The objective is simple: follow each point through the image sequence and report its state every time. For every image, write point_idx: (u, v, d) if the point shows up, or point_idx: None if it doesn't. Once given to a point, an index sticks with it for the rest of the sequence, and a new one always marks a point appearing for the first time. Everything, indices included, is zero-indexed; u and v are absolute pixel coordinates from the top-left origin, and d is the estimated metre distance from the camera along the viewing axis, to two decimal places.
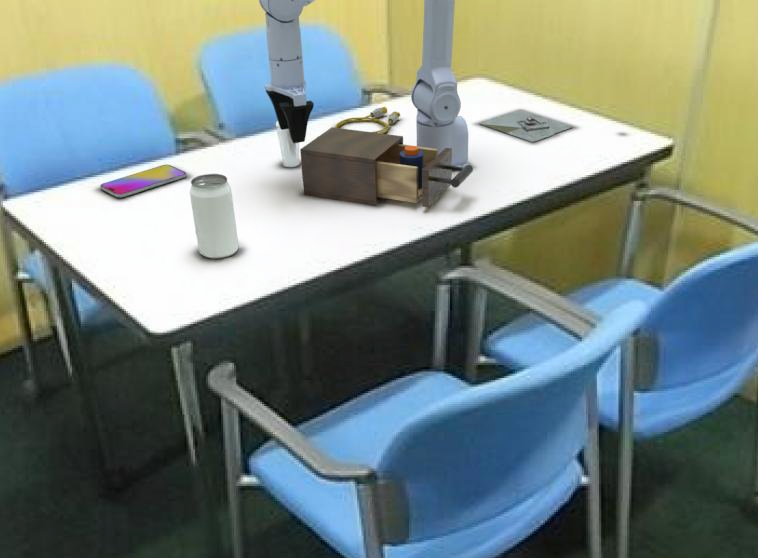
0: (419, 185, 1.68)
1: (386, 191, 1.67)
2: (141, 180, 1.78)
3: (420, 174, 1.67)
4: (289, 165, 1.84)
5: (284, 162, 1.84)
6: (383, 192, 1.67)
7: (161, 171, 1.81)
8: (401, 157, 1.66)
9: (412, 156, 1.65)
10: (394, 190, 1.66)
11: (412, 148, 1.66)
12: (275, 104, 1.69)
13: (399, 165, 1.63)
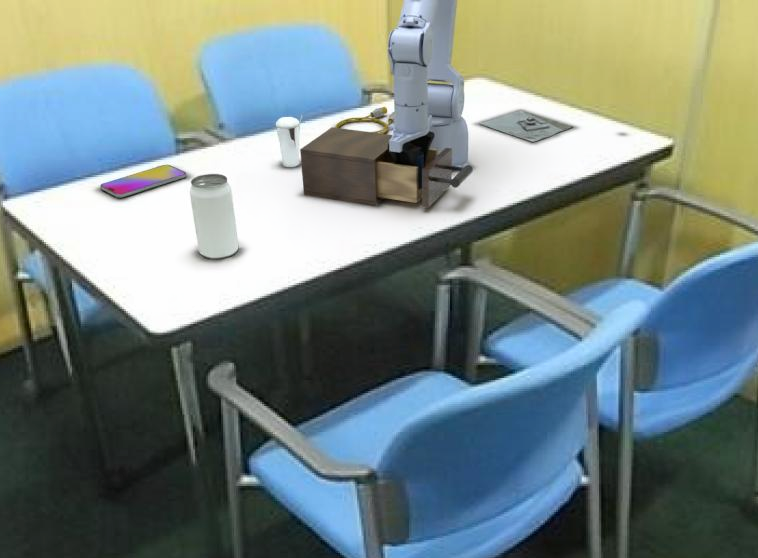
0: (419, 185, 1.68)
1: (386, 191, 1.67)
2: (141, 180, 1.78)
3: (420, 174, 1.67)
4: (289, 165, 1.84)
5: (284, 162, 1.84)
6: (383, 192, 1.67)
7: (161, 171, 1.81)
8: None
9: None
10: (394, 190, 1.66)
11: None
12: None
13: (399, 165, 1.63)
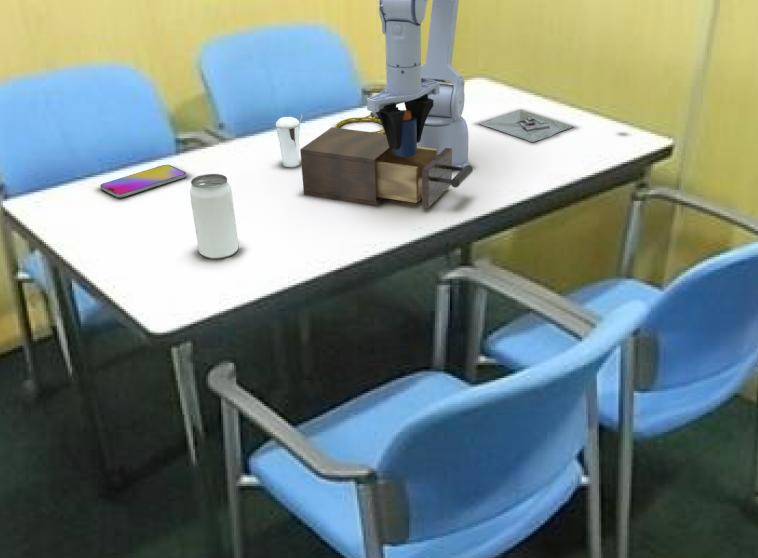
0: (407, 152, 1.62)
1: (386, 191, 1.67)
2: (141, 180, 1.78)
3: (409, 141, 1.61)
4: (289, 165, 1.84)
5: (284, 162, 1.84)
6: (383, 192, 1.67)
7: (161, 171, 1.81)
8: None
9: None
10: (394, 190, 1.66)
11: (404, 113, 1.60)
12: None
13: (399, 165, 1.63)
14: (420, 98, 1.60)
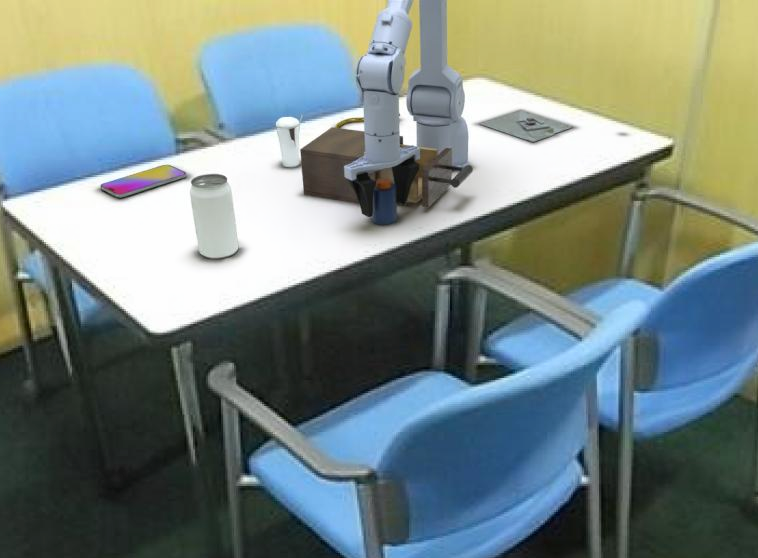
0: (386, 220, 1.61)
1: None
2: (141, 180, 1.78)
3: (388, 209, 1.60)
4: (289, 165, 1.84)
5: (284, 162, 1.84)
6: None
7: (161, 171, 1.81)
8: None
9: (380, 189, 1.58)
10: None
11: (383, 181, 1.59)
12: (394, 175, 1.62)
13: None
14: (406, 162, 1.59)
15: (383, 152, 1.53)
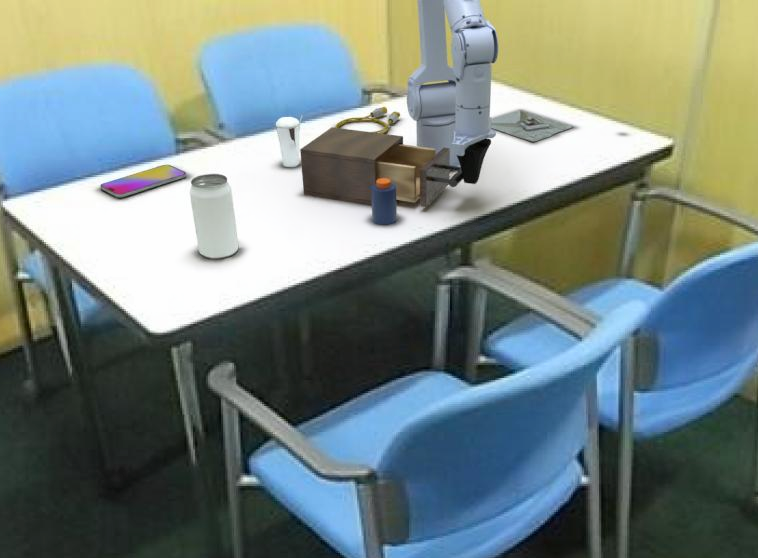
0: (386, 220, 1.61)
1: None
2: (141, 180, 1.78)
3: (388, 209, 1.60)
4: (289, 165, 1.84)
5: (284, 162, 1.84)
6: None
7: (161, 171, 1.81)
8: (371, 188, 1.60)
9: (380, 189, 1.58)
10: None
11: (383, 181, 1.59)
12: (480, 157, 1.62)
13: (397, 165, 1.64)
14: None
15: None
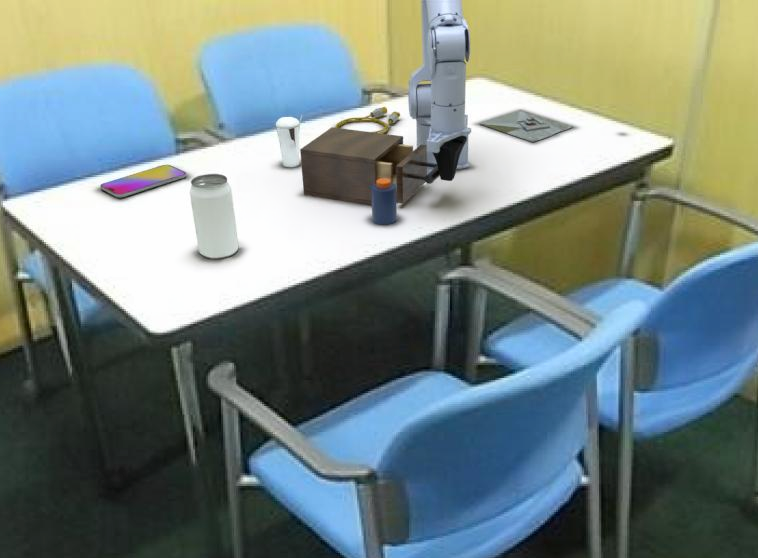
0: (386, 220, 1.61)
1: None
2: (141, 180, 1.78)
3: (388, 209, 1.60)
4: (289, 165, 1.84)
5: (284, 162, 1.84)
6: None
7: (161, 171, 1.81)
8: (371, 188, 1.60)
9: (380, 189, 1.58)
10: None
11: (383, 181, 1.59)
12: (456, 154, 1.63)
13: None
14: None
15: None
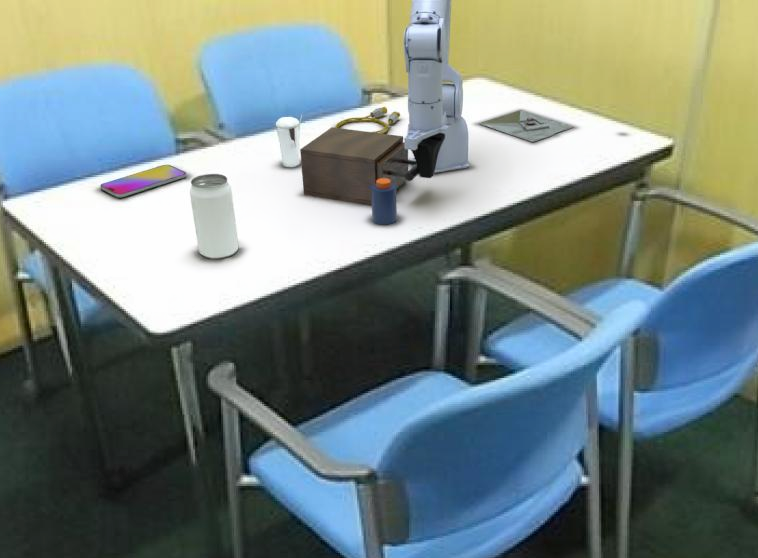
0: (386, 220, 1.61)
1: None
2: (141, 180, 1.78)
3: (388, 209, 1.60)
4: (289, 165, 1.84)
5: (284, 162, 1.84)
6: None
7: (161, 171, 1.81)
8: (371, 188, 1.60)
9: (380, 189, 1.58)
10: None
11: (383, 181, 1.59)
12: (434, 152, 1.64)
13: None
14: None
15: None
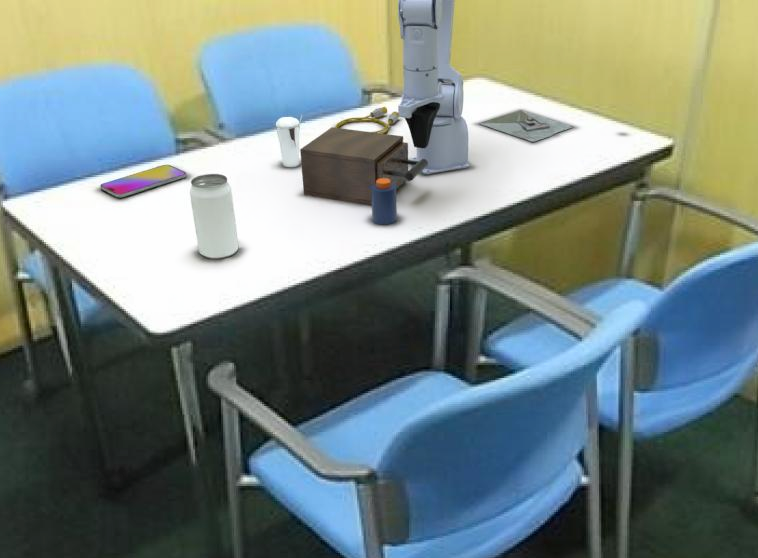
0: (386, 220, 1.61)
1: None
2: (141, 180, 1.78)
3: (388, 209, 1.60)
4: (289, 165, 1.84)
5: (284, 162, 1.84)
6: None
7: (161, 171, 1.81)
8: (371, 188, 1.60)
9: (380, 189, 1.58)
10: None
11: (383, 181, 1.59)
12: (429, 121, 1.62)
13: None
14: None
15: None
